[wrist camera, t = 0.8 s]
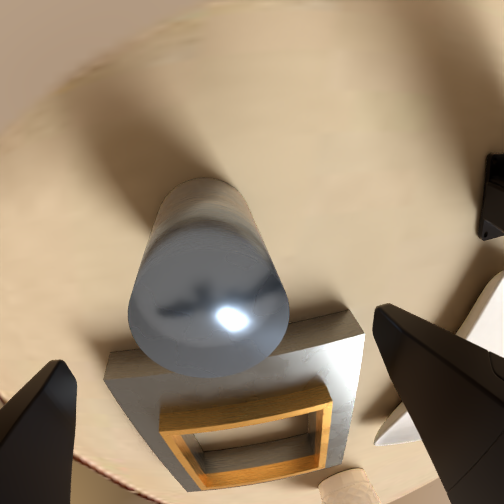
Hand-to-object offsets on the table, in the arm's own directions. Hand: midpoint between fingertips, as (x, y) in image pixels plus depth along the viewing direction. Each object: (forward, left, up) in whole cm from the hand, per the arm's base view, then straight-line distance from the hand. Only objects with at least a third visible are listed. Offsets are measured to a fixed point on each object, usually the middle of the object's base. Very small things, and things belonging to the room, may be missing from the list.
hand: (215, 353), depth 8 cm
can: (0, 0, -9) cm, 9 cm away
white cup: (-10, +39, -10) cm, 41 cm away
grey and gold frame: (0, +17, -9) cm, 19 cm away
